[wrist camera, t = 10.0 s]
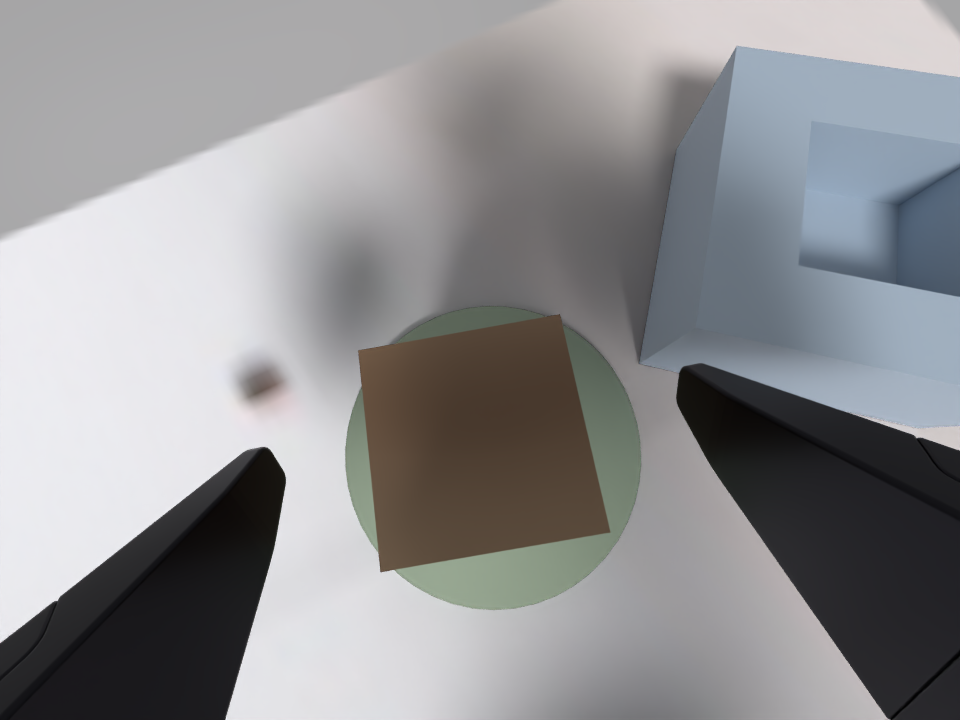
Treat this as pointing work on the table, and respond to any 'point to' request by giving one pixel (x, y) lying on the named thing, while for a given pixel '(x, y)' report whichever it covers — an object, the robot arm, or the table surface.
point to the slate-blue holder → (818, 237)
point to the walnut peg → (477, 444)
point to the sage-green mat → (541, 566)
